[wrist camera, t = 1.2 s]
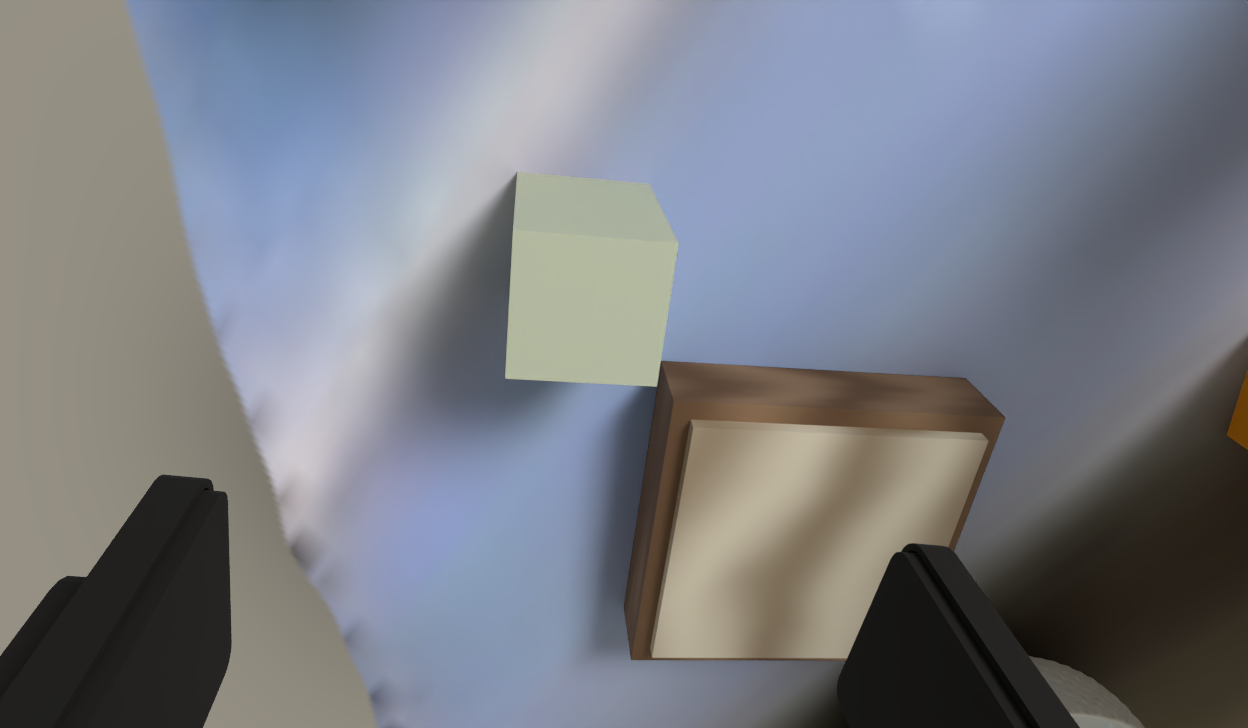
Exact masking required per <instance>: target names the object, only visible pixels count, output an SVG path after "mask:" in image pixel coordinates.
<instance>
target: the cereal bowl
mask: <svg viewBox="0 0 1248 728" xmlns="http://www.w3.org/2000/svg"><path fill="white" fill-rule="evenodd" d="M1028 656H1029V655H1028ZM1029 657H1030V659H1031V660H1032V661H1033V663H1034V664H1035V666H1036V667H1037V668H1038V670H1039V671H1040V673H1041V674H1042V675H1043V677H1044V678H1045V680H1046V681H1047V682H1048V684H1049V685H1050V687H1051V688H1052V689H1053V691H1054V692H1055V694H1056V695H1057V696H1058V698H1059V699H1060V701H1061V702H1062V703H1063V705H1064V706H1065V708H1066V709H1067V710H1068V712H1069V713H1070V715H1071V716H1072V717H1073V719H1074V720H1075V722H1076V723H1077V724H1078V726H1079V727H1080V728H1144V726H1143V725H1142V723H1141V722H1140V720H1139V719H1137V718H1136V717H1135V716H1134V715H1133V714H1132V713H1131V711H1130V710H1129V709H1128V707H1127V706H1126V705H1124V704H1123V703H1121V701H1120V700H1119V699H1118V698H1117V697H1116V696H1115V695H1114V694H1112V693H1110V692H1109V691H1108V690H1107V689H1106V688H1105V687H1104V686H1103V685H1101V684H1099V683H1097V682H1096V681H1095V680H1094V679H1093V678H1091V677H1088V676H1086V675H1085V674H1083V673H1082V672H1080V671H1077V670H1074V669H1072V668H1071V667H1069V666H1067V665H1062V664H1059V663H1057V662H1055V661H1050V660H1045V659H1043V658H1037V657H1032V656H1029Z"/></svg>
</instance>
